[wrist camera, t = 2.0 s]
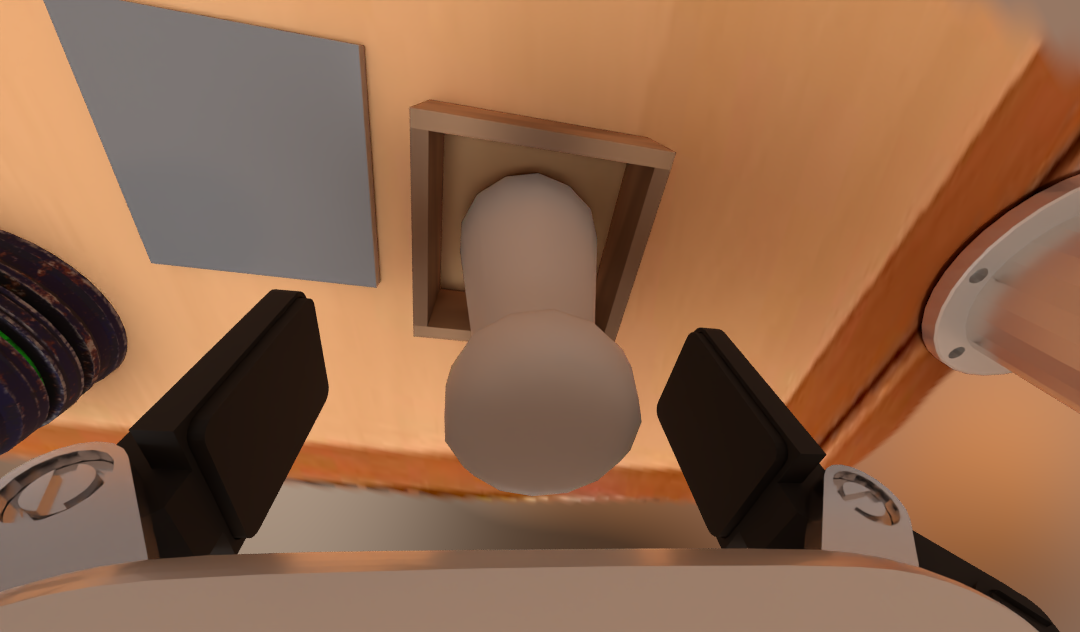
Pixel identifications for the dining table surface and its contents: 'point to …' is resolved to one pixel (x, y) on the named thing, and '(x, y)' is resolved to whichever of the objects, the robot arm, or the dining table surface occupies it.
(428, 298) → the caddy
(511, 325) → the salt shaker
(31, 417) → the dark blue cylinder
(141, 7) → the coaster
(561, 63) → the dining table surface
